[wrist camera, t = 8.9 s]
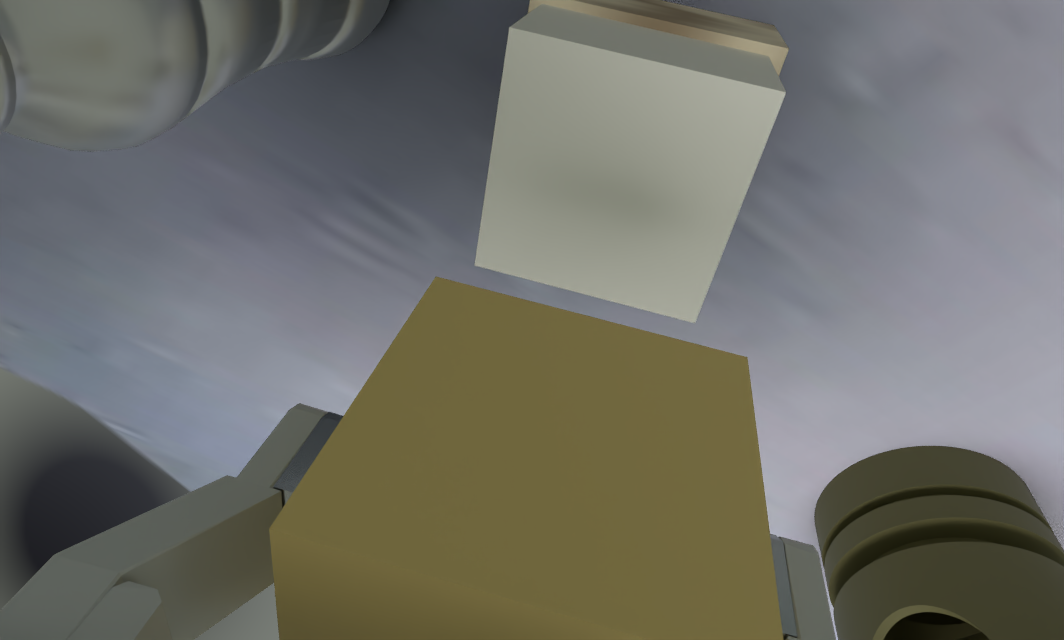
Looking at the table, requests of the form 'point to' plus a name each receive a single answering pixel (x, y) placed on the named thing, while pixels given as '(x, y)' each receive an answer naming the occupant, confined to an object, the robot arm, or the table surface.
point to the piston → (938, 550)
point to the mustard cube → (532, 488)
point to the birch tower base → (685, 23)
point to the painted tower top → (621, 158)
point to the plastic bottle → (151, 59)
